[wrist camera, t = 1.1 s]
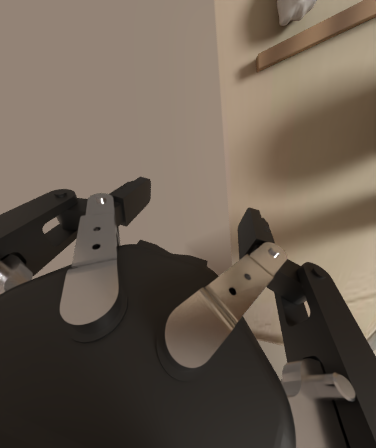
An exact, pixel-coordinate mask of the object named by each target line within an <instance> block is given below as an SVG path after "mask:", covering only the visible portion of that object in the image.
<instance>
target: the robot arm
mask: <svg viewBox="0 0 376 448" xmlns="http://www.w3.org/2000/svg"><path fill="white" fill-rule="evenodd" d="M150 188H151V181H150V179H147V178H143V177H139V178H137V179H136V180H134V181H131V182H127V183H126V184H124V185H123V186H121V187H119V188H118V189H116V190H115V191H113V192H112V193H110V194H105V193H99V194H94V195H92V196H90V197H89V198H88V199H82V198H77V197H76V194H75V192H74V191H72V190H68V189H59V190H54V191H51V192H49V193H47V194H44V195H42V196H40V197H38V198H36V199H34V200H31V201H29V202H27V203H25V204H23V205H21V206H18V207H16V208H14V209H12V210H10V211H8V212H6V213H3V214H1V215H0V448H376V356H375V354H374V353H373V351H372V349H371V347H370V345H369V344H368V342H367V340H366V338H365V337H364V335H363V333H362V331H361V329H360V328H359V326H358V324H357V322H356V321H355V319H354V317H353V315H352V313H351V312H350V310H349V308H348V306H347V305H346V303H345V301H344V299H343V297H342V296H341V294H340V292H339V290H338V289H337V287H336V285H335V283H334V281H333V280H332V278H331V276H330V275H329V274H328V273H327V272H326V271H325V270H324V269H322V268H321V267H319V266H318V265H316V264H313V263H310V262H306V263H304V264H303V265H302V266H299V265H298V264H296V263H294V262H292V261H290V260H288V259H287V254H286V252H285V251H284V250H283V249H282V248H281V247H280V246H278V245H276V244H275V242H274V239H273V236H272V234H271V231H270V229H269V225H268V223H267V222H266V220H265V219H264V218H261V215H260V211H259V210H256V209H252V208H248V209H247V210H246V212H245V214H244V216H243V218H242V220H241V222H240V223H239V226H238V243H239V261H238V262H236V263H235V264H234V265H233V266H231V267H230V268H229V269H228V270H226V271H225V272H224V273H223V274H221V275H220V276H218V275H217V274H216V273H215V272H214V271H213V270H211V269H210V268H208V267H207V261H206V260H202V259H199V258H196V257H193V256H189V255H178V254H171V253H169V252H168V251H166V250H164V249H163V248H160V247H159V246H157V245H155V244H152V243H149V242H146V241H143V240H140V241H139V242H138V243H137V244H129V245H122V246H120V237H119V228H118V226H119V225H123V226H128V225H129V223H130V222H131V221H132V220H133V219H134V218H135V217H136V216H137V215H138V214H139V213H140V212H141V211H142V210H143V209H144V207H145V206H146V205H147V204H148V203H149V201H150V196H151V194H150V193H151V189H150ZM55 217H57V219H58V221H59V223H60V224H59V225H57V226H56V227H54V228H53V229H51V230H50V231H48V232H47V233H46V234H44V233H43V231H42V228H43V226H44V224H45V223H47V222H48V221H50V220H51V219H53V218H55ZM76 238H77V240H76V245H75V251H74V256H73V262H72V264H71V265H69V266H66V267H64V268H61V269H58V270H56V271H53V272H50V273H48V274H46V275H43V276H40V277H38V278H35V279H33V280H31V279H32V277H33V276H34V275H35V274H36V273H37V272H39V271H40V270H41V269H42V268H43V267H44V266H45V265H47V264H48V263H49V262H50V261H51V260H52V259H53V258H55V257H56V256H57V255H58V254H59V253H60V252H62V251H63V250H64V249H65V248H66V247H67V246H68V245H69V244H71V243H72V242H73V241H74V240H75V239H76ZM266 287H267V288H269V289H270V290H272V291H274V293H275V299H276V304H277V309H278V315H279V320H280V325H281V331H282V336H283V341H284V347H285V352H286V357H287V364H286V365H285V366H284V368H283V371H282V379H281V381H280V380H279V378H278V376H277V374H276V372H275V371H274V369H273V367H272V365H271V364H270V362H269V360H268V359H267V357H266V355H265V353H264V352H263V350H262V348H261V347H260V345H259V343H258V341H257V340H256V338H255V336H254V334H253V333H252V331H251V329H250V328H249V326H248V324H247V322H246V321H245V319H244V317H243V315H244V314H245V312H246V311H247V310H248V309H249V307H250V306H251V305H252V304H253V303H254V301H255V300H256V299H257V298H258V296H259V295H260V294H261V293H262V291H263V290H264V289H265V288H266ZM305 301H307V302H308V305H309V308H310V317H308V314H307V311H306V308H305V305H304V302H305Z"/></svg>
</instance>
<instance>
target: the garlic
mask: <svg viewBox="0 0 376 448" xmlns="http://www.w3.org/2000/svg"><path fill="white" fill-rule="evenodd" d="M316 1H317V0H277V9H278V14H279V24H280V25H281V26H285V25H287V24H288V23H289V22H290V21H291V20H293V21H299V20H301V19H302V18H303V16H304V15H305V14H306V13H308V12H309V11H310V10H311V9H312V7H313V6H314V4H315V3H316Z"/></svg>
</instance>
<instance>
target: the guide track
mask: <svg viewBox="0 0 376 448" xmlns="http://www.w3.org/2000/svg"><path fill="white" fill-rule="evenodd" d="M375 17H376V0H363V1H361V2H359V3H358V4H356V5H354V6H352V7H350V8H348V9H346V10H344V11H342V12H340V13H338V14H336V15H334V16H332V17H330V18H328V19H326V20H324V21H322V22H320V23H318V24H316V25H314V26H312V27H310V28H308V29H306V30H305V31H303V32H301V33H299V34H297V35H295V36H293V37H291V38H289V39H287V40H285V41H283V42H281V43H279V44H277V45H275V46H273V47H271V48H269V49H267V50H265V51H263V52H261V53H259V54H258V56H257V58H256V67H257V72H259V71H261V70H263V69H265V68H267V67H270V66H272V65H274V64H276V63H278V62H280V61H282V60H285V59H287V58H289V57H291V56H293V55H295V54H297V53H300V52H302V51H304V50H306V49H308V48H310V47H312V46H315V45H317V44H319V43H321V42H323V41H325V40H327V39H330V38H332V37H334V36H336V35H338V34H340V33H342V32H345V31H347V30H349V29H351V28H353V27H355V26H357V25H360V24H362V23H364V22H366V21H368V20H370V19H372V18H375Z"/></svg>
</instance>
